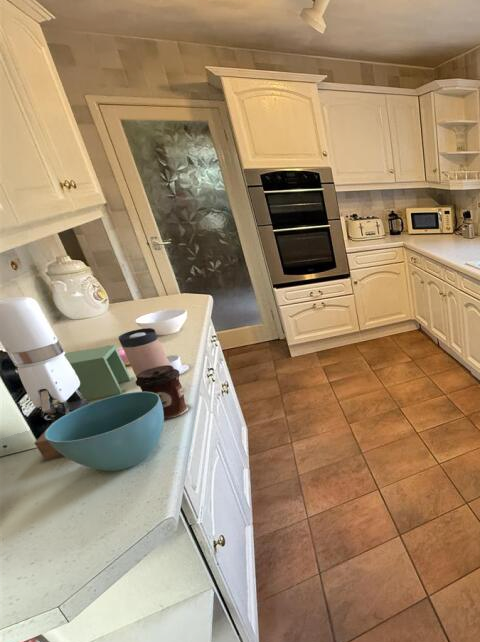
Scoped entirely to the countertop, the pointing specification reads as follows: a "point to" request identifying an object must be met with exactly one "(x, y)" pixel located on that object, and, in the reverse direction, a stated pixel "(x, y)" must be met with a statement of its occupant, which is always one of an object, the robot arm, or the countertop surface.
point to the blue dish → (110, 431)
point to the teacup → (177, 363)
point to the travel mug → (143, 349)
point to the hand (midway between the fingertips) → (76, 420)
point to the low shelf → (47, 448)
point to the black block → (73, 406)
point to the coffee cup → (164, 388)
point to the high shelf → (98, 371)
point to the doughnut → (124, 357)
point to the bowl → (163, 321)
